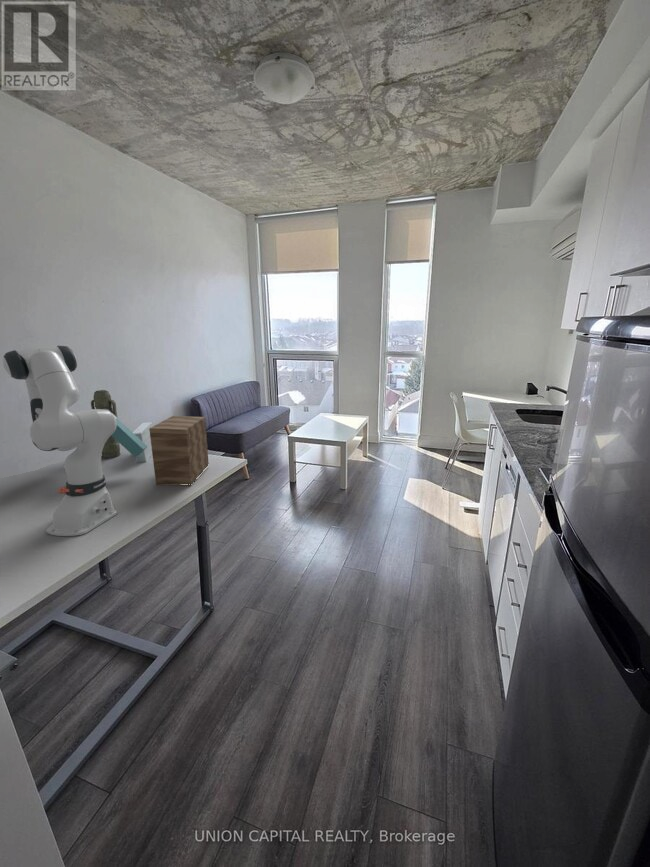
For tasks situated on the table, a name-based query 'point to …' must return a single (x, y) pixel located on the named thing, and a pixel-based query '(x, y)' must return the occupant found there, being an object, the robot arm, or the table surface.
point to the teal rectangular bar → (128, 439)
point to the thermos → (105, 402)
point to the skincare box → (144, 441)
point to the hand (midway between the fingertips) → (108, 417)
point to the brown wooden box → (179, 449)
